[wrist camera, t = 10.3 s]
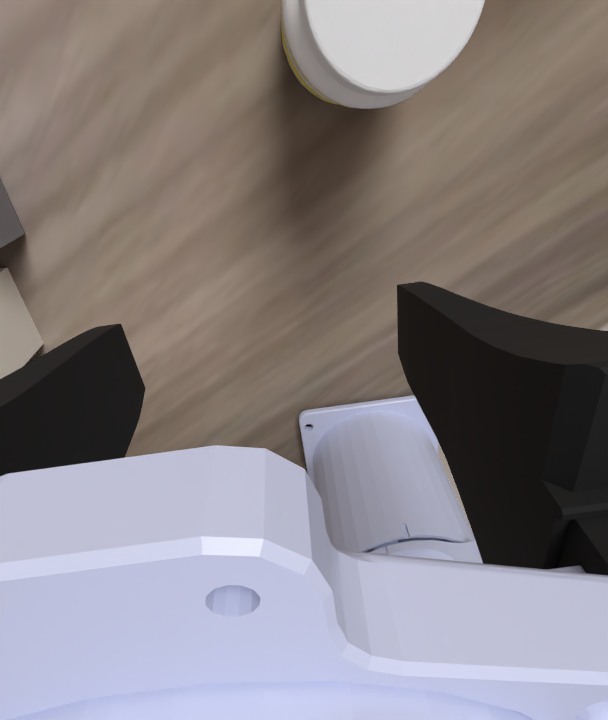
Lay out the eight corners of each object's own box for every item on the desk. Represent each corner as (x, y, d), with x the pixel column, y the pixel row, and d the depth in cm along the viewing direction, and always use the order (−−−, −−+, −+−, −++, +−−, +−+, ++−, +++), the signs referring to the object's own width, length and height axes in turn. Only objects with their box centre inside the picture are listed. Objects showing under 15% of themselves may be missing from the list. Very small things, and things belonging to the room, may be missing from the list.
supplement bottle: (422, -43, 16) (550, -157, 8) (393, 111, 18) (474, 125, 11) (284, -66, 15) (296, -206, 8) (274, 96, 17) (275, 101, 10)
